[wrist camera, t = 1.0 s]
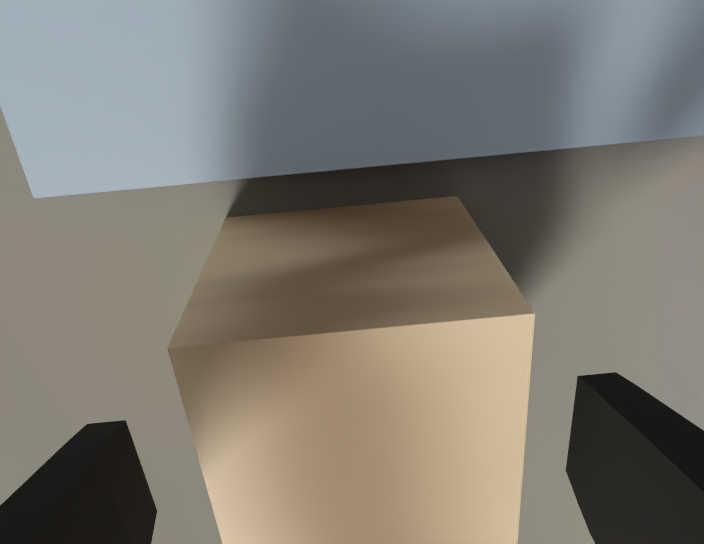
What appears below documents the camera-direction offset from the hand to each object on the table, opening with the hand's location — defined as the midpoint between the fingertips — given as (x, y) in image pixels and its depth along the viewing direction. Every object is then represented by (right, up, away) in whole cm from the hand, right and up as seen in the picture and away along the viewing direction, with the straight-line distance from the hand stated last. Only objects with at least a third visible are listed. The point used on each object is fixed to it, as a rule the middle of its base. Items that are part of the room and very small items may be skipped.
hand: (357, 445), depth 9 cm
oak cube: (0, +2, +4) cm, 5 cm away
